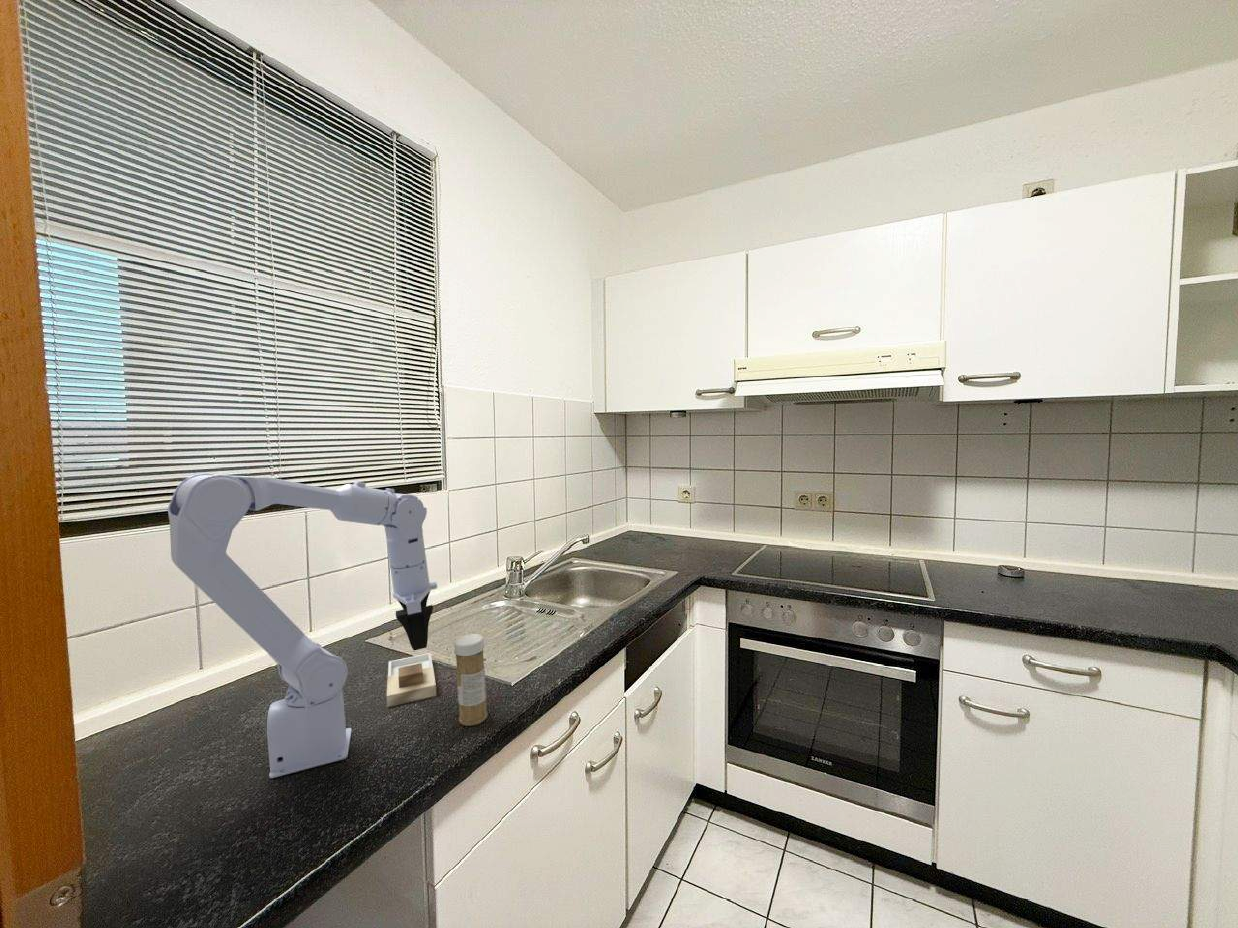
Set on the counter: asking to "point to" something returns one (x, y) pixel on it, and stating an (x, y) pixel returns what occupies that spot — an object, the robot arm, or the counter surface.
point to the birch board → (410, 689)
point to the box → (409, 663)
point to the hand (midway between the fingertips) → (419, 639)
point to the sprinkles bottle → (471, 679)
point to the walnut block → (410, 675)
